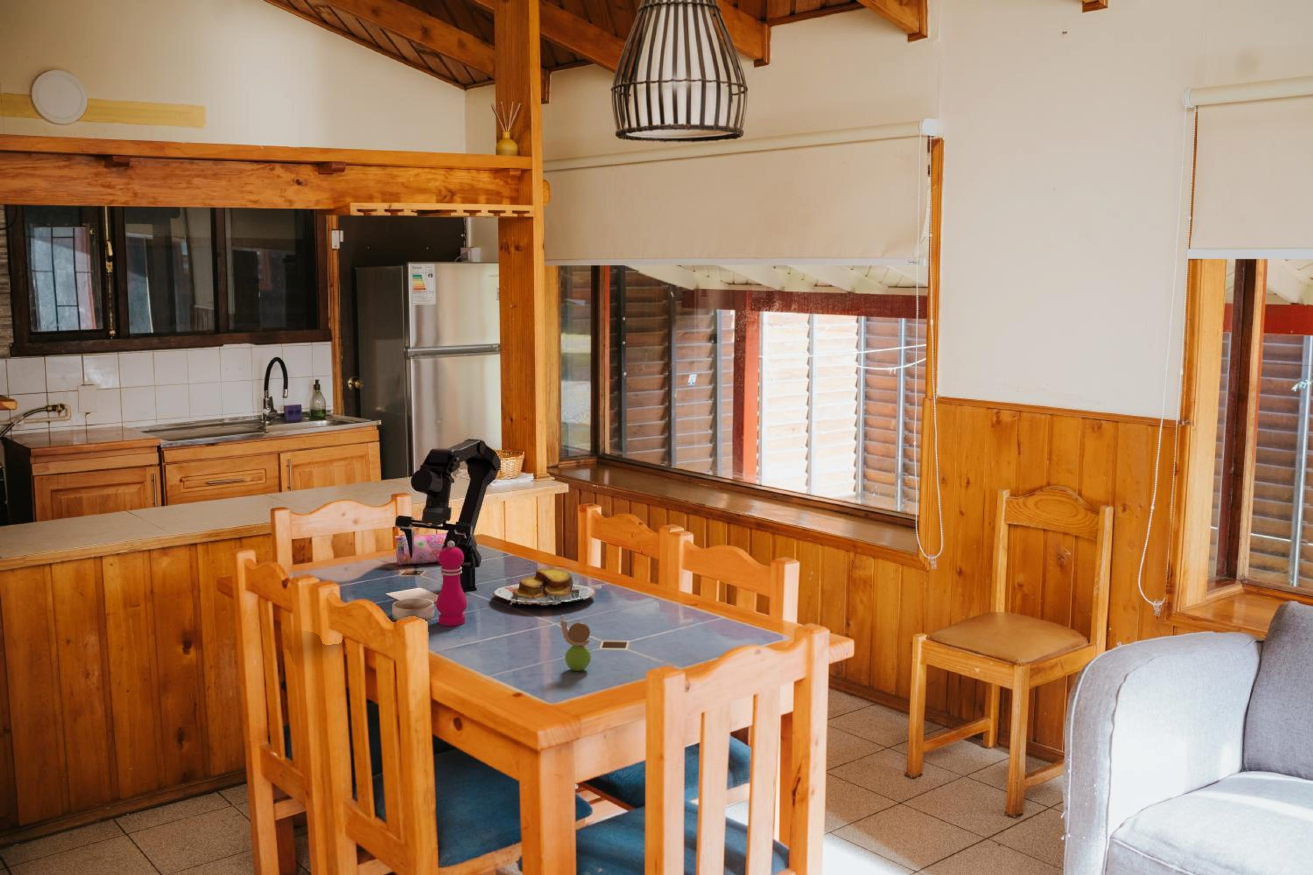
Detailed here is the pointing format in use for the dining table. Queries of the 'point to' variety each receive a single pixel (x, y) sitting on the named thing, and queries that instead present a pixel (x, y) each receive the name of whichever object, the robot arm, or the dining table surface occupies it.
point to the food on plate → (545, 589)
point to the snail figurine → (576, 645)
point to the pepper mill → (451, 587)
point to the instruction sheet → (414, 594)
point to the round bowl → (413, 608)
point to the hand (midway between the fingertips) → (429, 559)
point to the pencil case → (420, 549)
